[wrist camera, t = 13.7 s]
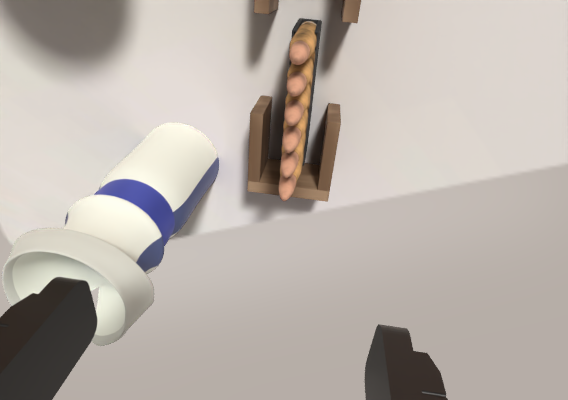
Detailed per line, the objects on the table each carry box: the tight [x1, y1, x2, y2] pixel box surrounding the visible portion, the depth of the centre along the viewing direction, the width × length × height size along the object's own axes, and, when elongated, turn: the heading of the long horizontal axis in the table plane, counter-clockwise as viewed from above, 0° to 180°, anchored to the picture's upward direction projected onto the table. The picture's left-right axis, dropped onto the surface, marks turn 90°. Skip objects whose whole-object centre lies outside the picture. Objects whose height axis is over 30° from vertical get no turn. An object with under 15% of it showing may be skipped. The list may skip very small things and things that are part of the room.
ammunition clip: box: [279, 18, 322, 201], centre depth 28 cm, size 11×2×12 cm, turn 176°
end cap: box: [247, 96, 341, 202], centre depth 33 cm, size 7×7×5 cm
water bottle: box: [2, 123, 219, 346], centre depth 27 cm, size 8×8×25 cm
